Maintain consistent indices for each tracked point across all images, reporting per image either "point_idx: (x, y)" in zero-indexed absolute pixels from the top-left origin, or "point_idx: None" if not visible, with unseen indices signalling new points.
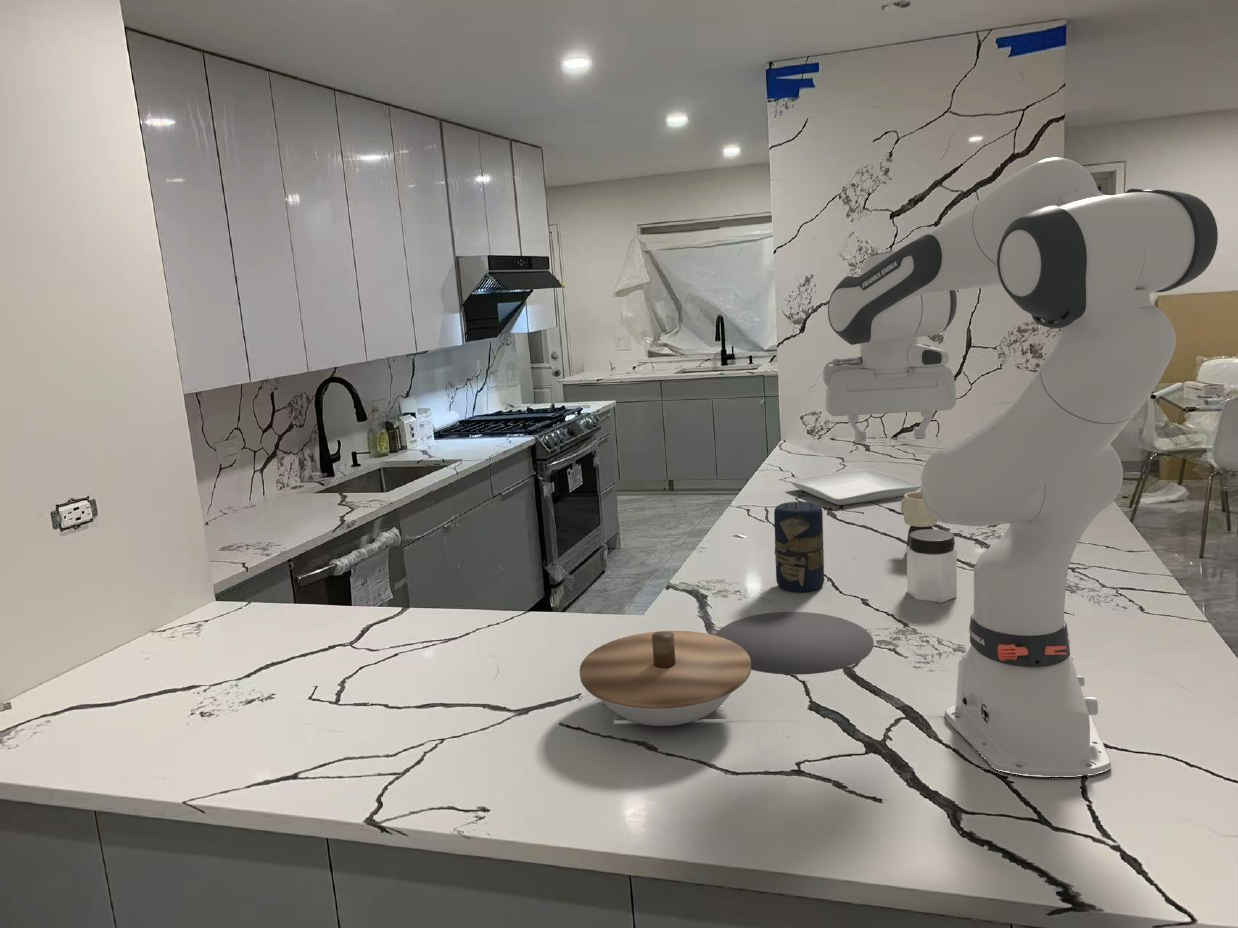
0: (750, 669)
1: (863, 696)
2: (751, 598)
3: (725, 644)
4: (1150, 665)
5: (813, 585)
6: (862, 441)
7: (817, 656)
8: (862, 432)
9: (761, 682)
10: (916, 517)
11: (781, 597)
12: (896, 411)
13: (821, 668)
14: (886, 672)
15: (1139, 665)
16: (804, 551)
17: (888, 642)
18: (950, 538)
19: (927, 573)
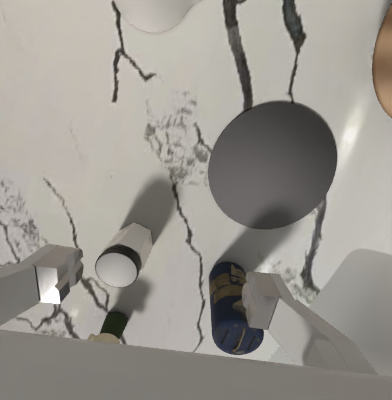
0: (388, 12)
1: (254, 52)
2: (270, 262)
3: (388, 80)
4: (16, 66)
5: (222, 264)
6: (258, 272)
7: (263, 135)
8: (270, 294)
9: (322, 98)
10: (109, 342)
11: (247, 259)
12: (101, 346)
13: (269, 110)
14: (220, 97)
15: (24, 68)
16: (233, 285)
17: (198, 155)
18: (101, 255)
19: (136, 237)
